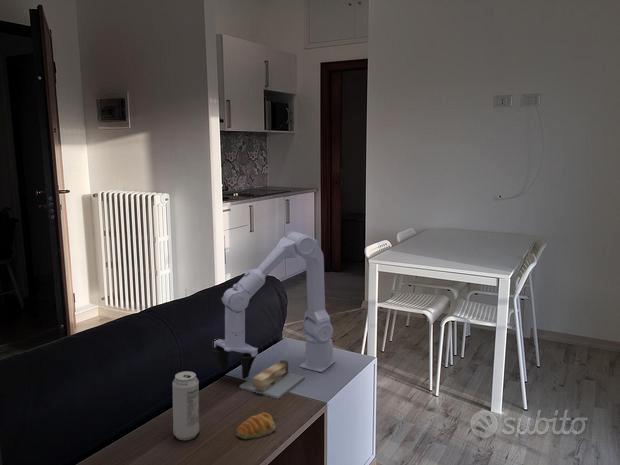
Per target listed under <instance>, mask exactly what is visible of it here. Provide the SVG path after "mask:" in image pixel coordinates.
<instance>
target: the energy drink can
mask: <svg viewBox="0 0 620 465" xmlns="http://www.w3.org/2000/svg"><path fill="white" fill-rule="evenodd" d="M199 384H200V381H199V379H198V378H197V374H196V373H195V372H193V371H187V370H186V371H180V372H177V373H176V374H175V375H174V379H173V381H172V426H173V430H172V431H173V432H172V433H173V435H174V436H175V437H176V439H177V440H178V441H179V440H180V441H189V440H192V439H195V438H196V436H197V435H198V433H199V432H200V394H199V393H200V390H199V389H200V388H199V386H200V385H199Z"/></svg>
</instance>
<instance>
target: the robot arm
mask: <svg viewBox="0 0 620 465" xmlns="http://www.w3.org/2000/svg"><path fill="white" fill-rule="evenodd" d="M298 256H299V257H301V258H302V259H303V260H304V261H305V266H306V270H305V271H306V295H307V296H306V297H307V309H306V310H305V312H304V318H303V321H302V325H301V326H302V327H301V328H302V331H303V332H305V357H304V358H305V359H304V360H305V361H304V362H302V363H301V364H300V365H299V367H300V368H303V369H307V370H310V371H315V372H319V373H323V372H324V371H326V370H327V369H329V367H331V366H333V364H335V363H336V361H335V360H334V359H333V351H334V350H333V346H334V342H333V339H332V336H333V335H334V327H333V325H332V322H331V317H330V315H329V313H328V312H327V310H326V295H325V293H326V292H325V289H326V288H325V258H324V252H323V251H322V249H321V248H320V246H319V244H318V240H317V239H316V238H314V237H313V236H311V235H309V234H304V233H301V232H299V231H297V230H290V231H288V232H287V233H286V234H285V236H284V237H282V238H281V239H280V240H279V241H278V243H277V245H276V246H275V247H274V249H272V251H271V252H270V253H269V254H268V255H267V256H266V258H265V259H264V260H263V261H262V262H261V263H260V265H259V266H258V267H256V268H250V269H249V270H246V271H245V272H244V275H243V277H241V278H240V279H239V281H238V282H237V283H233V285H232V287H231V288H228V289H226V290H225V291H224V293H223V296H222V297H221V301H222V304H223V305H224V339H221V338H217V339H218V340H216V339H215V340H216V341H214V347H213V348H215V349H214V350H212V351H213V355H214V356H215V357H216V360H217V362H218V365H219V368H220V373H222V374H224V373H225V372H227V371H228V370H229V369H228V368H229V354H230V352H237V353H241V354H242V355H241V356H240V357H239V361H240V365H241V376H242V379H244V380H245V379H247V378H249V376H250V371H251V368H252V365H253V364H254V361H255V360H256V358H257V356H258V354H259V352H258V350H259V349H258V347H254V346H252V345H251V344H248V343H246V308H248V306H249V303H250V299H251V298H252V297H253V296H254V295H255V294H256V293H257V292H258V291H259V290H260V289H261V288H262V287H263V285H265V283H266V277H267V276H268V275H269V274H271V272H272V271H273V270H275V269H276V268H277V267H278V266H279V265H280V264H282V262H283V261H284V260H286V259H294V258H298Z"/></svg>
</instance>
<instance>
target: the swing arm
mask: <svg viewBox="0 0 620 465" xmlns="http://www.w3.org/2000/svg"><path fill="white" fill-rule="evenodd" d="M267 368H268V367H267ZM265 369H266V368H265ZM265 369H264V370H265ZM288 370H289V361H288V360H285V359H284V360H280V361H279V362H276V363H274V364H273V365H271V366H270V367H269V368H268V369H266V370H265V371H263V370H262V371H263V372H262V371H261V372H262V373H260V372H259V373H260V374H259V375H257V374H256V375H257V376H256V377H254V376H253V377H254V378H253V387H255V388H258V389H263V388H264V387H266V386H267V385H269V384H270V383H272V382H273V381H274V380H276V379H277V378H279V377H280V376H281V375H283V374H287V373H288V372H289V371H288Z"/></svg>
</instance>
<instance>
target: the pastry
mask: <svg viewBox="0 0 620 465" xmlns="http://www.w3.org/2000/svg"><path fill="white" fill-rule="evenodd" d="M275 430H276V424H275V422H274V420H273V416H272V415H271V414H269V413H268V412H264V411H263V412H261V413H258V414H255V415H251V416H249V417H248V418H247V419H246V420H244V421H243V422H242V423H241V424H239V425H238V426H237V427H236V433H235V436H237V437H238V438H241V439H243V440H248V439H258V438H261V437H264V436H267V434H268V435H271V434H273V433H274V432H275ZM273 431H274V432H273Z"/></svg>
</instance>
